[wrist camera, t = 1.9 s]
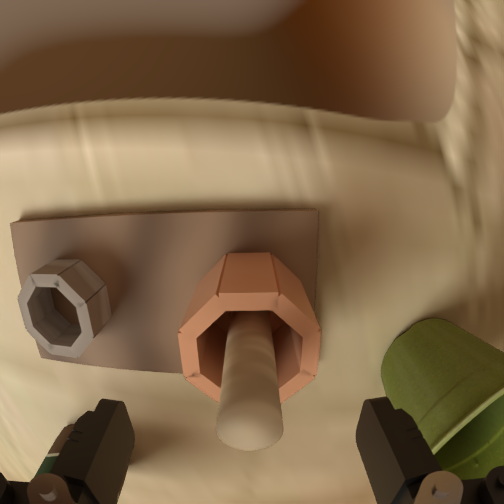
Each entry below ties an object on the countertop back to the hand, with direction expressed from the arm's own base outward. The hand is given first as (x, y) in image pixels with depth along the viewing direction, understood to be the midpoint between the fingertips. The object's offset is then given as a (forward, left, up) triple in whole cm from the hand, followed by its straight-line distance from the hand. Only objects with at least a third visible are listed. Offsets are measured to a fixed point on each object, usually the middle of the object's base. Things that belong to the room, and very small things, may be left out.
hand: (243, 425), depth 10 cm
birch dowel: (0, 0, -10) cm, 10 cm away
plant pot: (-14, +6, -12) cm, 19 cm away
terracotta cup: (0, 0, -11) cm, 11 cm away
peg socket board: (+6, 0, -12) cm, 13 cm away
